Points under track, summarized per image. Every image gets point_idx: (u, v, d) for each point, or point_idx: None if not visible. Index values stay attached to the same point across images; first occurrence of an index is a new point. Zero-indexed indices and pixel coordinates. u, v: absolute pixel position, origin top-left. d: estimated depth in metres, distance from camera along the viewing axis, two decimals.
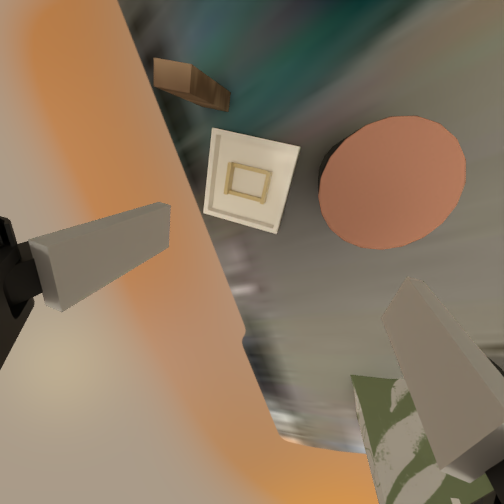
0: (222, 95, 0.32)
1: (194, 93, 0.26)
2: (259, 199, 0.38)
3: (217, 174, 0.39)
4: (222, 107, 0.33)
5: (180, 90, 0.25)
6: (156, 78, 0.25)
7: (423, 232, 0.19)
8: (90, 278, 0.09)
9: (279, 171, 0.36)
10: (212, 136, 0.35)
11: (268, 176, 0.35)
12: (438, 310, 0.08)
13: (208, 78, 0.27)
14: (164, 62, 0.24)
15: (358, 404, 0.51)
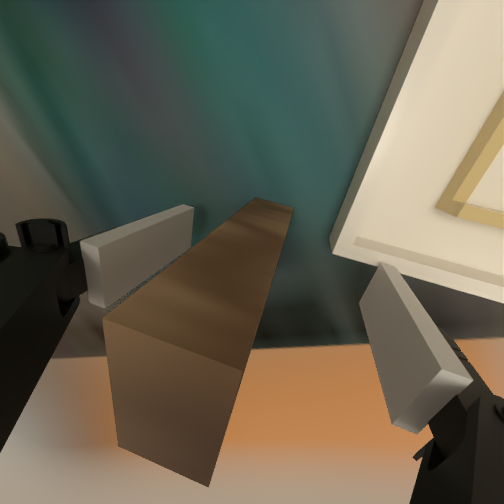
0: (261, 212, 0.12)
1: (248, 320, 0.05)
2: None
3: (460, 260, 0.13)
4: (287, 216, 0.12)
5: (226, 408, 0.04)
6: (181, 468, 0.06)
7: None
8: (128, 277, 0.09)
9: None
10: (356, 256, 0.12)
11: None
12: (402, 290, 0.09)
13: (209, 239, 0.08)
14: (124, 423, 0.05)
15: None
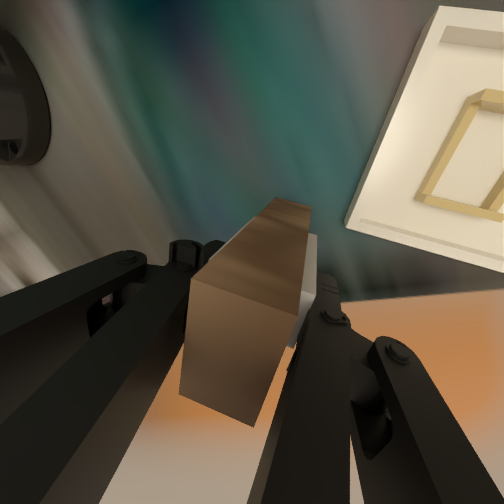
0: (284, 209, 0.13)
1: (293, 286, 0.06)
2: None
3: (432, 234, 0.19)
4: (307, 214, 0.13)
5: (279, 350, 0.05)
6: (232, 411, 0.07)
7: None
8: None
9: (473, 76, 0.15)
10: (361, 229, 0.19)
11: (496, 93, 0.13)
12: (308, 248, 0.11)
13: (248, 229, 0.09)
14: (189, 371, 0.07)
15: None
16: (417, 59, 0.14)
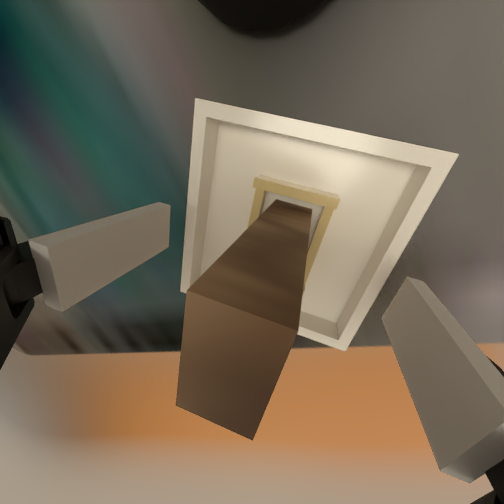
0: (284, 212, 0.13)
1: (293, 297, 0.06)
2: (325, 210, 0.14)
3: None
4: (308, 217, 0.13)
5: (279, 364, 0.05)
6: (230, 423, 0.07)
7: None
8: (90, 278, 0.09)
9: (261, 157, 0.15)
10: None
11: (264, 182, 0.13)
12: (438, 310, 0.08)
13: (247, 234, 0.09)
14: (186, 383, 0.06)
15: None
16: (192, 145, 0.14)
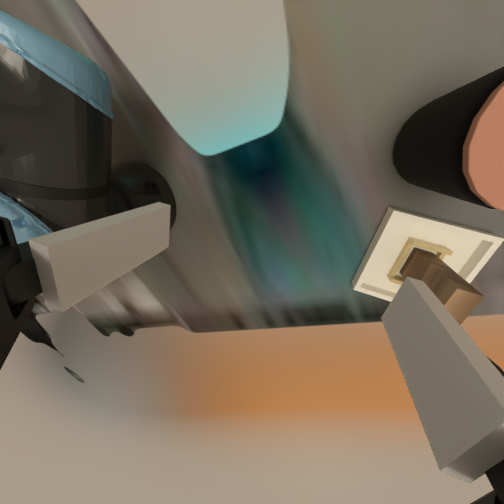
0: (429, 256, 0.31)
1: (475, 290, 0.24)
2: (442, 254, 0.33)
3: (396, 292, 0.38)
4: (438, 258, 0.32)
5: (475, 304, 0.24)
6: None
7: None
8: (90, 278, 0.09)
9: (411, 229, 0.33)
10: (361, 290, 0.37)
11: (418, 243, 0.32)
12: (438, 310, 0.08)
13: (440, 270, 0.27)
14: None
15: None
16: (385, 226, 0.32)
